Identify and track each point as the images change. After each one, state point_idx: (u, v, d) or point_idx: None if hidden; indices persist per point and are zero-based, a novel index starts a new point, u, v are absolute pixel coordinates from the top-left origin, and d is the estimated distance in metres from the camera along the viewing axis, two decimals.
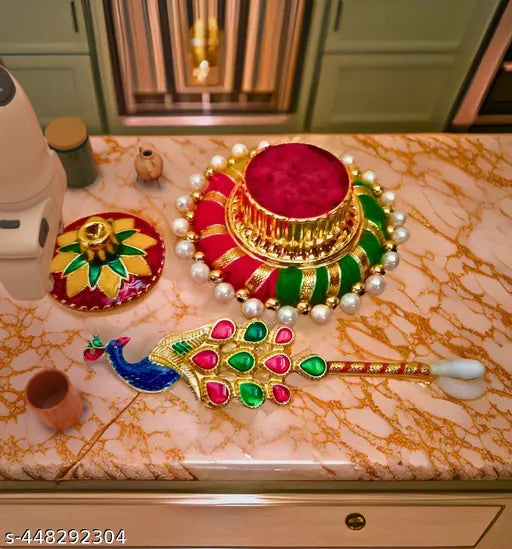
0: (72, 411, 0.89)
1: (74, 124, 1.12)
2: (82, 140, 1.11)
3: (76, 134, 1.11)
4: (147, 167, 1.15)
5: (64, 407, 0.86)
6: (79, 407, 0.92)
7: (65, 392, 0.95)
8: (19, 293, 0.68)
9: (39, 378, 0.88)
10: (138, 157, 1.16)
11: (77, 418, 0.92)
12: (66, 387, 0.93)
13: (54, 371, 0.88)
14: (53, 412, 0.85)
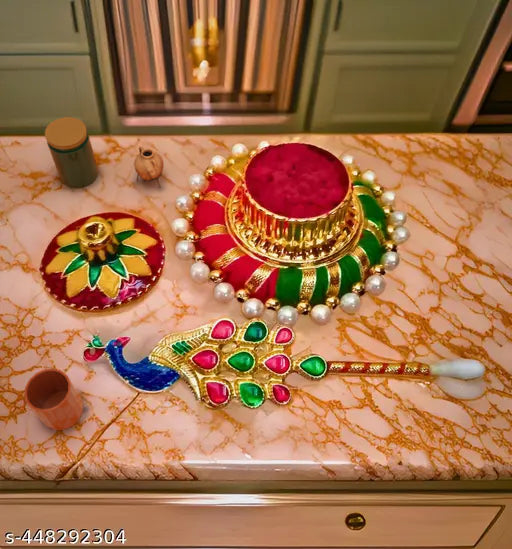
0: (72, 411, 0.89)
1: (74, 124, 1.12)
2: (82, 140, 1.11)
3: (76, 134, 1.11)
4: (147, 167, 1.15)
5: (64, 407, 0.86)
6: (79, 407, 0.92)
7: (65, 392, 0.95)
8: None
9: (39, 378, 0.88)
10: (138, 157, 1.16)
11: (77, 418, 0.92)
12: (66, 387, 0.93)
13: (54, 371, 0.88)
14: (53, 412, 0.85)
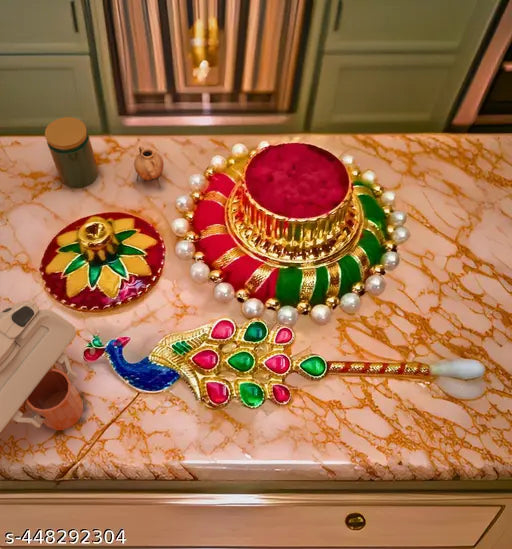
0: (72, 411, 0.89)
1: (74, 124, 1.12)
2: (82, 140, 1.11)
3: (76, 134, 1.11)
4: (147, 167, 1.15)
5: (64, 407, 0.86)
6: (79, 407, 0.92)
7: (65, 392, 0.95)
8: None
9: None
10: (138, 157, 1.16)
11: (77, 418, 0.92)
12: (66, 387, 0.93)
13: (54, 371, 0.88)
14: (53, 412, 0.85)
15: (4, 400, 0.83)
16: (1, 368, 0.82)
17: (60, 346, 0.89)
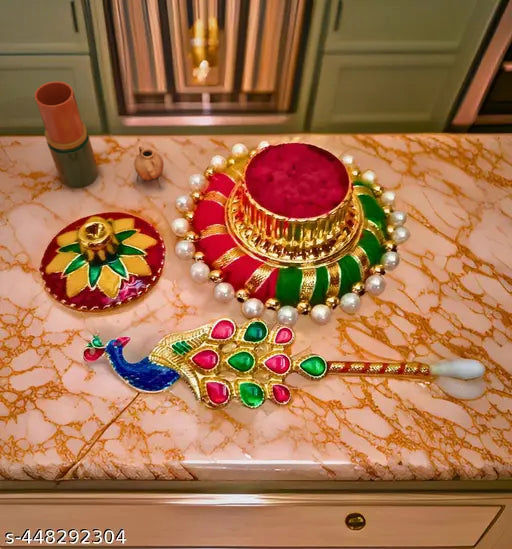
0: (74, 120, 1.07)
1: None
2: (82, 140, 1.11)
3: None
4: (147, 167, 1.15)
5: (67, 109, 1.04)
6: (80, 123, 1.09)
7: None
8: None
9: (46, 90, 1.06)
10: (138, 157, 1.16)
11: (78, 134, 1.09)
12: None
13: (59, 83, 1.05)
14: (58, 110, 1.03)
15: None
16: None
17: None
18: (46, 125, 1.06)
